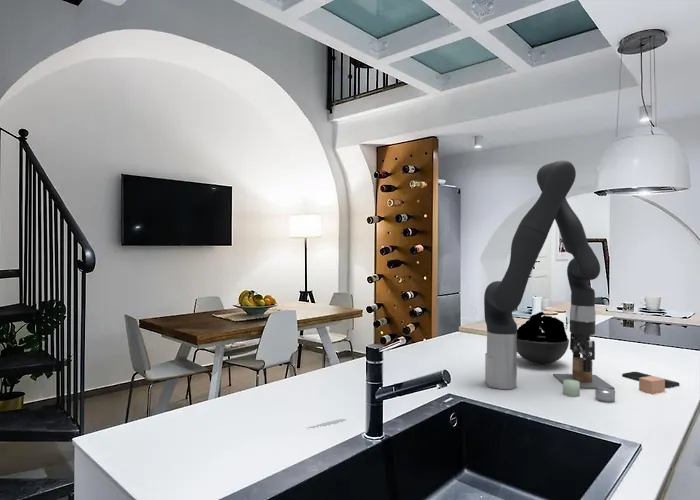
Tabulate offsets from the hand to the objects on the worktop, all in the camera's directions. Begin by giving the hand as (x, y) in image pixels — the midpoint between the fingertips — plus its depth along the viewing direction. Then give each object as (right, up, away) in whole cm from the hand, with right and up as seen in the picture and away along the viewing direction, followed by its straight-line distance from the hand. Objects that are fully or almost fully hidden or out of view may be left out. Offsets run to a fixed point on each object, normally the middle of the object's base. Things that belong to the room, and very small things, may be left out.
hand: (581, 368), depth 152 cm
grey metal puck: (-1, -5, -17) cm, 18 cm away
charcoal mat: (0, -5, 0) cm, 5 cm away
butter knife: (-88, -6, -39) cm, 97 cm away
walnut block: (0, -4, 0) cm, 4 cm away
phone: (+24, -5, +2) cm, 24 cm away
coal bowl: (-4, -4, +23) cm, 24 cm away
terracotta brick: (+17, -5, -9) cm, 20 cm away
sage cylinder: (-9, -5, -12) cm, 16 cm away
